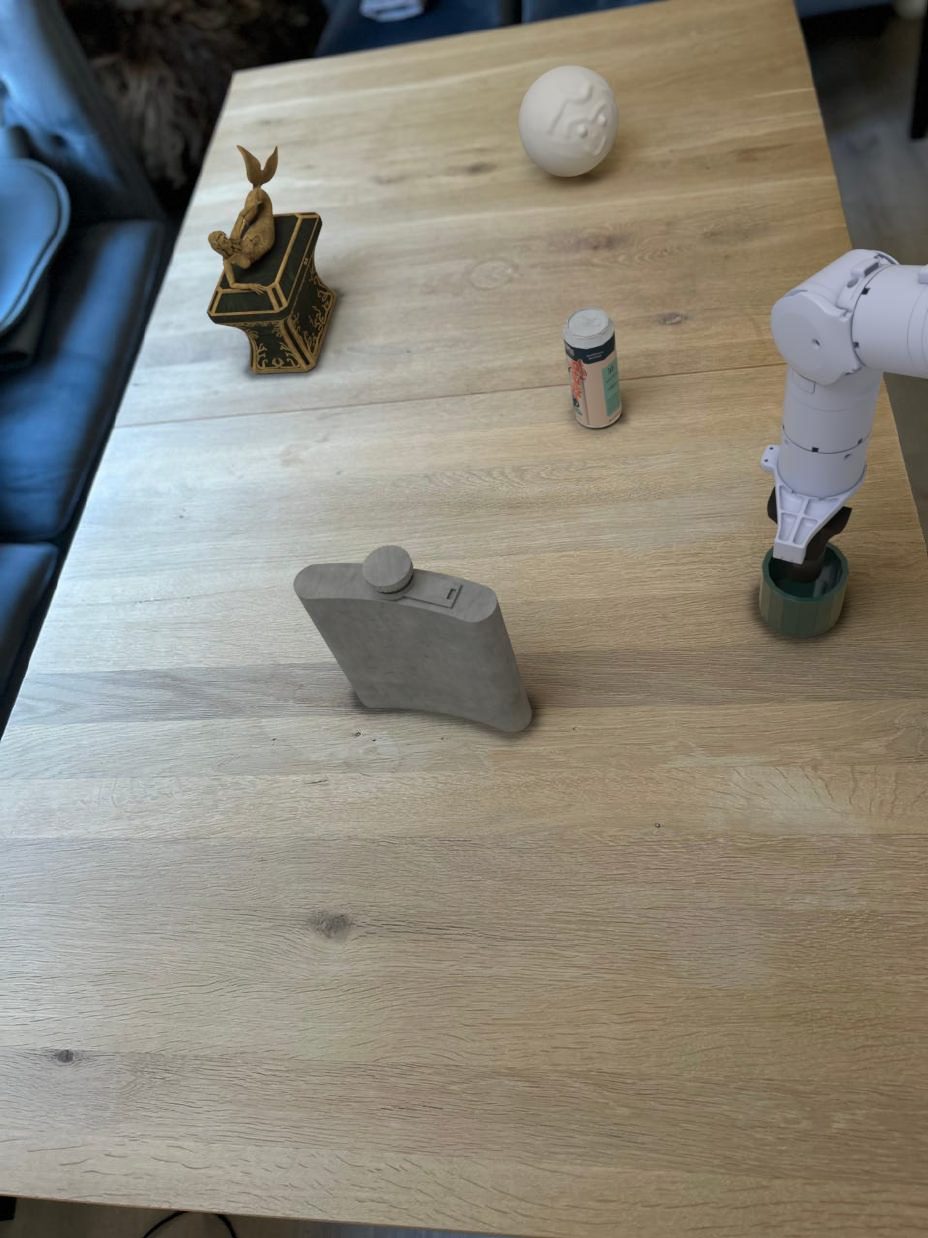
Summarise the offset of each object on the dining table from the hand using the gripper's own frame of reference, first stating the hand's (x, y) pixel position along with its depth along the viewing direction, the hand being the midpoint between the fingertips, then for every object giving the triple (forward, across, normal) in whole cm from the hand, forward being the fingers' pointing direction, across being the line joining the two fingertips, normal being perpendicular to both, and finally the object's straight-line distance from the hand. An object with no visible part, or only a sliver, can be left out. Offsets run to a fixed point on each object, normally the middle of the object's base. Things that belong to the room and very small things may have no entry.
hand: (808, 543), depth 77 cm
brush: (+4, 0, 0) cm, 4 cm away
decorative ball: (+9, -54, -44) cm, 70 cm away
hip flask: (+9, +19, -25) cm, 33 cm away
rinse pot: (+9, 0, 0) cm, 9 cm away
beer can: (+9, -16, -25) cm, 31 cm away
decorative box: (+9, -20, -65) cm, 69 cm away
